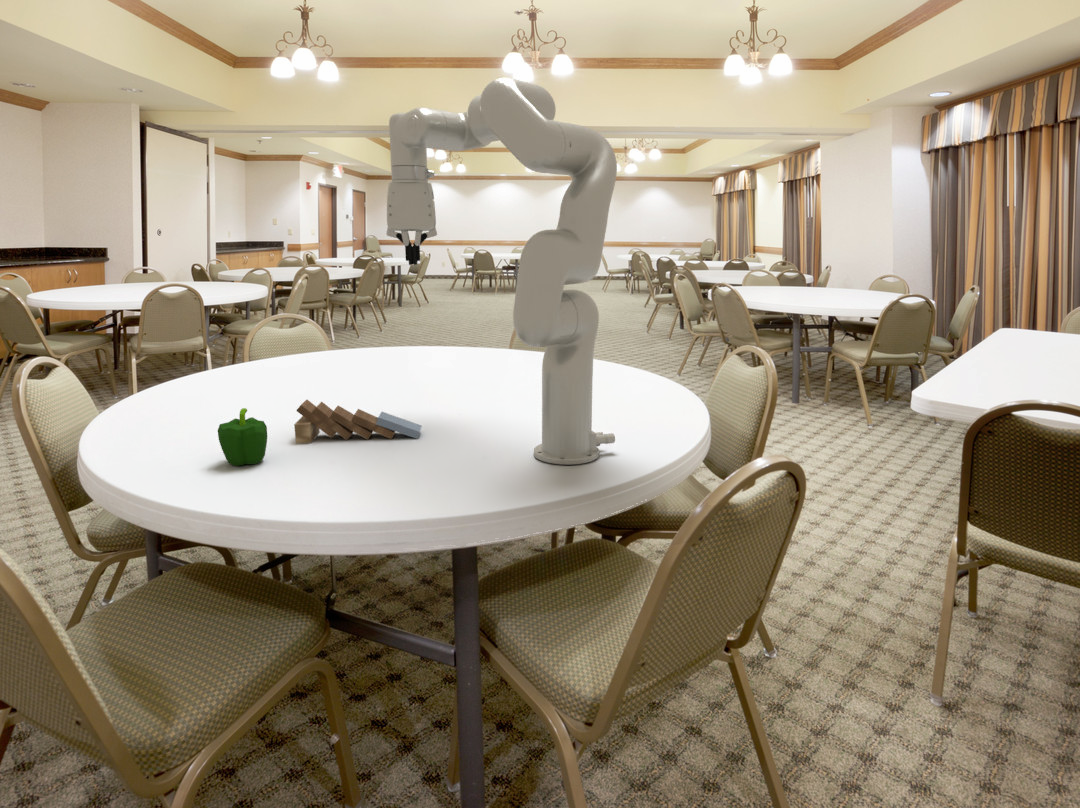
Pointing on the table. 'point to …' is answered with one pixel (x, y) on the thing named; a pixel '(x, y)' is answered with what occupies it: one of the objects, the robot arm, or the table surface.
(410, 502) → the table surface
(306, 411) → the walnut tile
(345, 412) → the walnut tile
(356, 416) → the walnut tile
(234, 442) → the bell pepper
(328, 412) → the walnut tile
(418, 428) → the blue grey rectangular block
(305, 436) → the oak end block
